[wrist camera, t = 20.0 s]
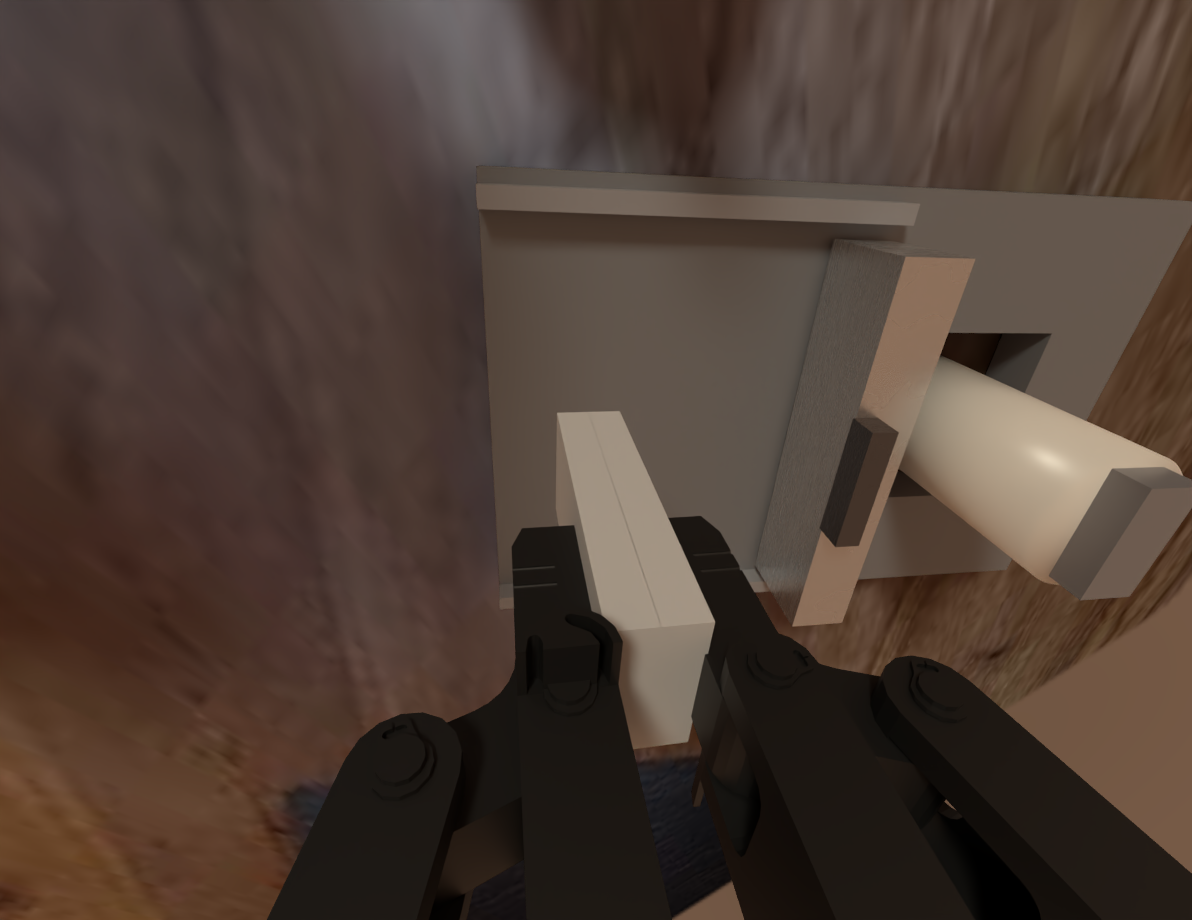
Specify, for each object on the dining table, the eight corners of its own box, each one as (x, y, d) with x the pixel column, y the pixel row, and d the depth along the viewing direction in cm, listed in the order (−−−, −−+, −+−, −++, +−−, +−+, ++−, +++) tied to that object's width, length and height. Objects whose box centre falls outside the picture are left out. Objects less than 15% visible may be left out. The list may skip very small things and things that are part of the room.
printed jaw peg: (837, 446, 23) (1029, 614, 15) (866, 347, 21) (1111, 476, 13) (928, 444, 24) (1163, 604, 15) (965, 348, 22) (1262, 471, 13)
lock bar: (752, 564, 23) (802, 647, 19) (831, 239, 17) (928, 263, 13) (798, 562, 23) (856, 643, 19) (892, 241, 17) (1006, 265, 13)
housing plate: (501, 570, 24) (500, 616, 22) (480, 165, 16) (474, 166, 14) (975, 544, 28) (1019, 581, 25) (1142, 198, 20) (1230, 203, 17)
